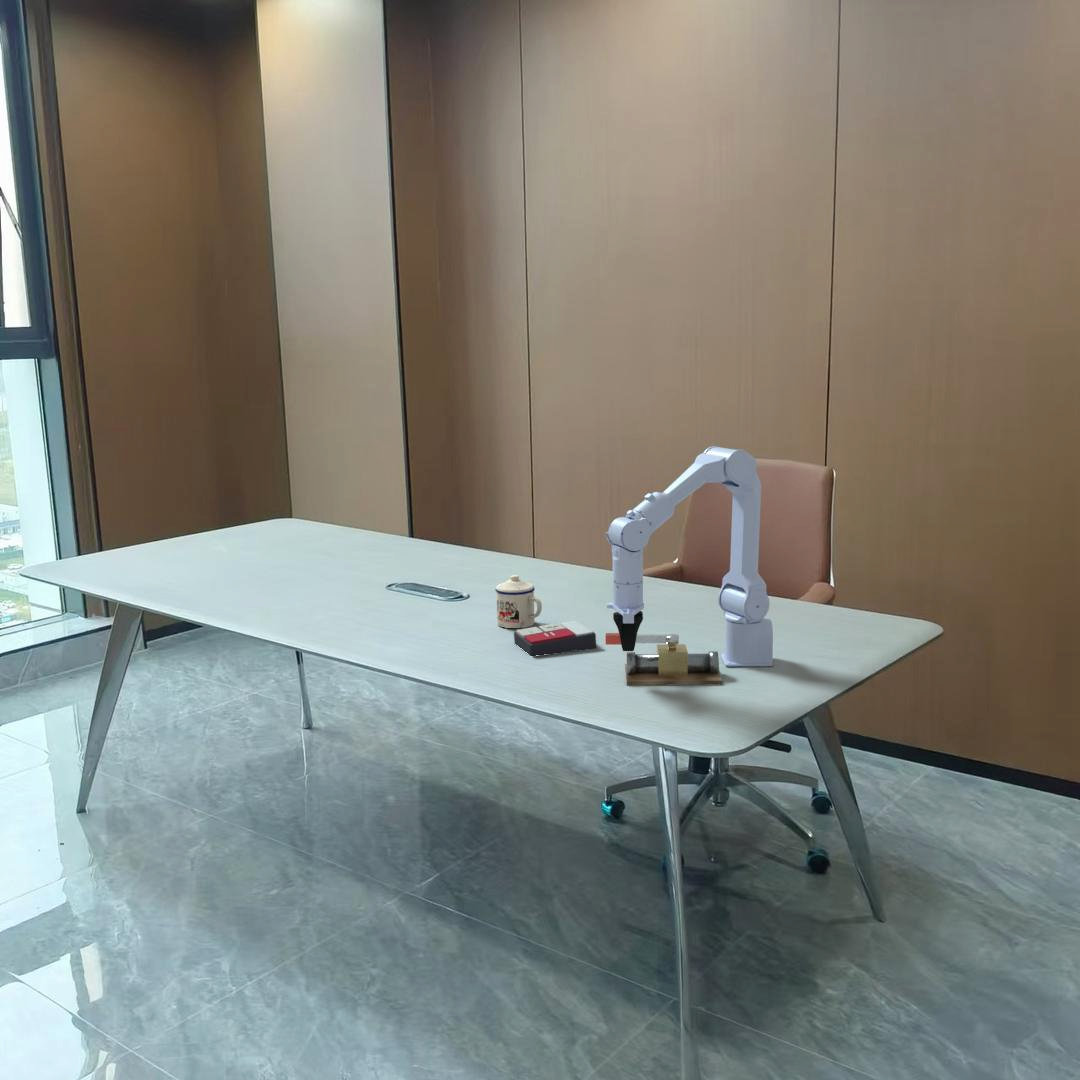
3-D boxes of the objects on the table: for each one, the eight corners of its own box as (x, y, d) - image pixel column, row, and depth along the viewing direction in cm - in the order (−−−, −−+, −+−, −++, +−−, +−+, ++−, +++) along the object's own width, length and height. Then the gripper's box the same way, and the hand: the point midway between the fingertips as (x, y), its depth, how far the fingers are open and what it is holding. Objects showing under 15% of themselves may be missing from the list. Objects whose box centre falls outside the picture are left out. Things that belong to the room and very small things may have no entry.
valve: (715, 669, 211) (716, 640, 210) (718, 677, 206) (719, 648, 205) (626, 670, 212) (626, 641, 211) (627, 678, 207) (627, 649, 206)
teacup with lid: (488, 626, 248) (486, 577, 246) (513, 617, 255) (511, 569, 253) (529, 633, 241) (528, 583, 239) (553, 624, 248) (552, 575, 246)
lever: (679, 645, 207) (679, 636, 206) (605, 645, 208) (605, 636, 208) (678, 641, 209) (678, 632, 209) (605, 641, 210) (605, 632, 210)
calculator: (512, 629, 233) (576, 617, 238) (514, 647, 234) (577, 636, 239) (530, 641, 223) (596, 629, 228) (531, 661, 224) (597, 649, 229)
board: (715, 666, 214) (715, 662, 214) (721, 684, 203) (721, 680, 203) (625, 667, 215) (624, 663, 215) (627, 685, 204) (626, 681, 204)
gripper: (606, 572, 209) (607, 639, 212) (606, 590, 195) (606, 661, 198) (643, 572, 209) (643, 639, 212) (645, 590, 195) (645, 661, 197)
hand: (628, 650), depth 205 cm, fingers closed
